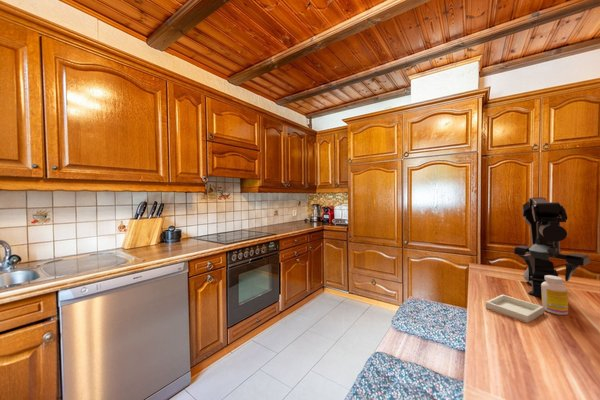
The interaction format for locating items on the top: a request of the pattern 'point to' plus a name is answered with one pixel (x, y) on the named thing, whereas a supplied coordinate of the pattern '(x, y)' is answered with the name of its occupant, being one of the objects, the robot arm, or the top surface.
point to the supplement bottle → (554, 295)
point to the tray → (515, 308)
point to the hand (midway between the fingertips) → (549, 277)
